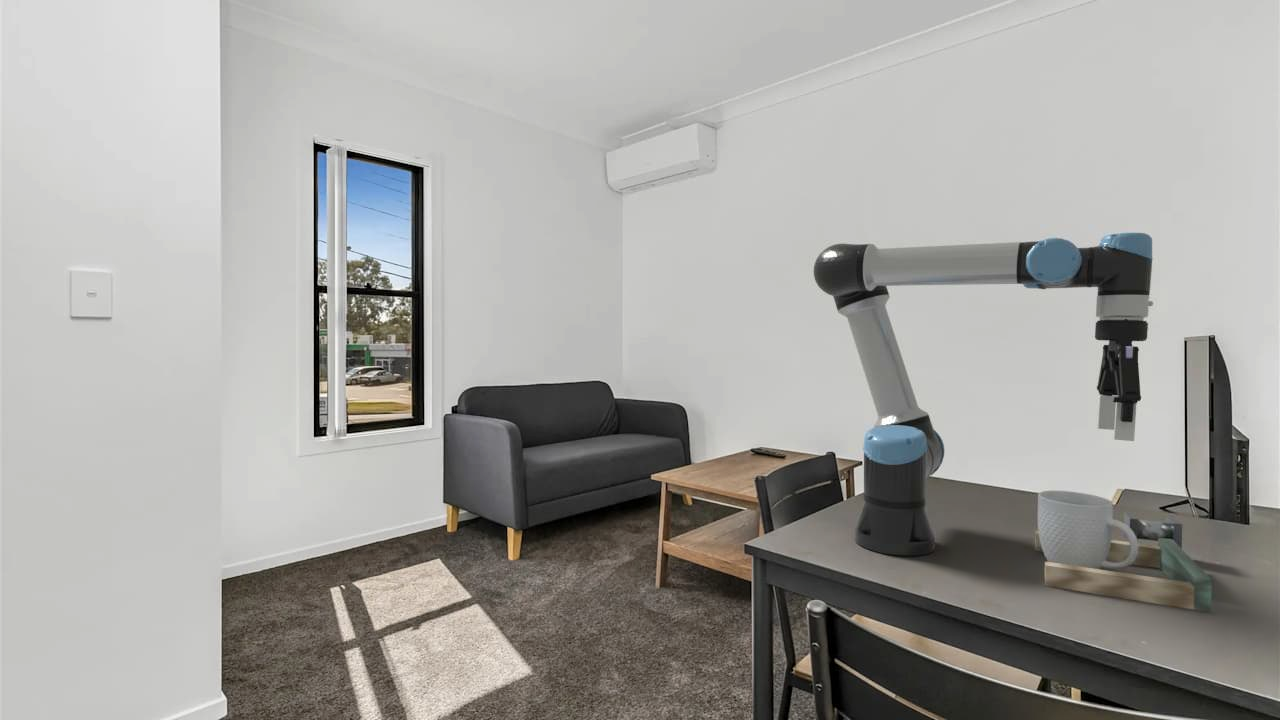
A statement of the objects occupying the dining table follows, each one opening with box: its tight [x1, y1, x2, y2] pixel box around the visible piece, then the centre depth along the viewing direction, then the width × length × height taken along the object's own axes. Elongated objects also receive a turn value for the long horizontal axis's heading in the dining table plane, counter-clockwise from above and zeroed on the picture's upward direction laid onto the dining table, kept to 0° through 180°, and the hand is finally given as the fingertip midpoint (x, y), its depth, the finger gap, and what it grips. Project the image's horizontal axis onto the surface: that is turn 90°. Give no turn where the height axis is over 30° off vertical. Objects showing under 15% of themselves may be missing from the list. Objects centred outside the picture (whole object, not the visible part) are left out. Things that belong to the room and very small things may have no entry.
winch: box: [1123, 511, 1183, 550], centre depth 115 cm, size 8×6×8 cm
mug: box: [1037, 490, 1139, 570], centre depth 108 cm, size 15×11×13 cm
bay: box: [1034, 529, 1213, 613], centre depth 106 cm, size 21×21×5 cm
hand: (1114, 434), depth 112 cm, fingers open, 13 cm apart
